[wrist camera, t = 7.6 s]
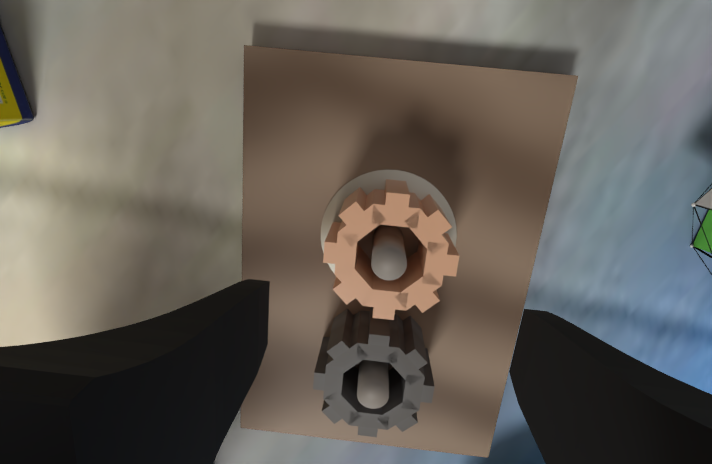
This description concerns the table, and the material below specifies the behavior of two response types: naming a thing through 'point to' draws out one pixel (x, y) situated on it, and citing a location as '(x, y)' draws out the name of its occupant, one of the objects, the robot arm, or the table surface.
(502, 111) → the gear board
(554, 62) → the table surface
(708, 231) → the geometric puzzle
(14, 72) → the supplement box
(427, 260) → the gear
